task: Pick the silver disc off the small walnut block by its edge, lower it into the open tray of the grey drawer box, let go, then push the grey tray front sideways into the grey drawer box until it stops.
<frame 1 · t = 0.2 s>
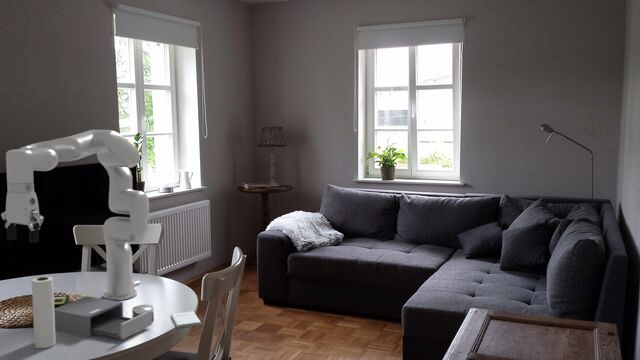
hand: (23, 241, 190), 31 cm above the table, tool pointing down, fingers open, 9 cm apart
grey drawer box: (88, 325, 202), on the table
tray: (117, 320, 197), point 4 cm above the table, slide at 11.0 cm
disc: (143, 313, 205), point 3 cm above the table, touching pedestal
external hard drive: (185, 322, 208), on the table
paper towel roll: (45, 345, 185), on the table
pedestal: (143, 322, 205), on the table
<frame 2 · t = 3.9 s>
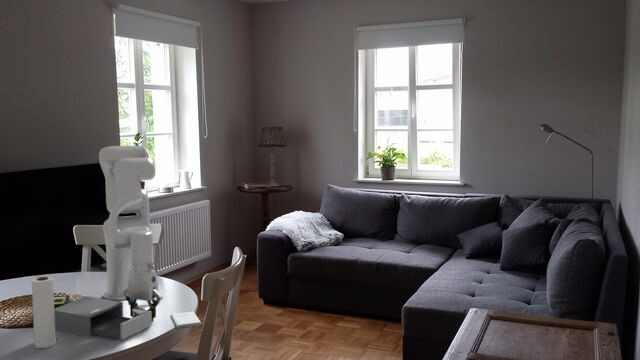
hand: (143, 316, 205), 2 cm above the table, tool pointing down, fingers closed on disc, 7 cm apart
disc: (143, 312, 205), point 4 cm above the table, touching gripper, pedestal
everything else where it was.
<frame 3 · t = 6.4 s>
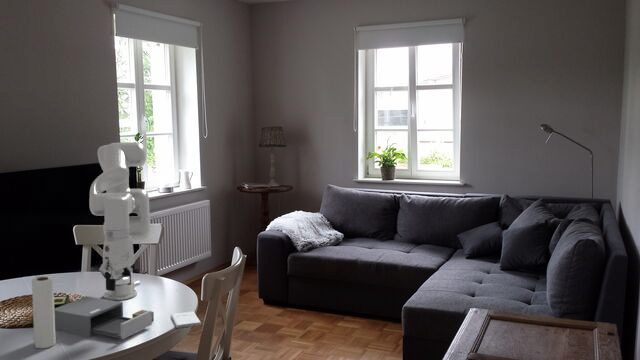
hand: (118, 286, 195), 15 cm above the table, tool pointing down, fingers closed on disc, 7 cm apart
disc: (118, 282, 195), point 17 cm above the table, touching gripper
everything else where it was.
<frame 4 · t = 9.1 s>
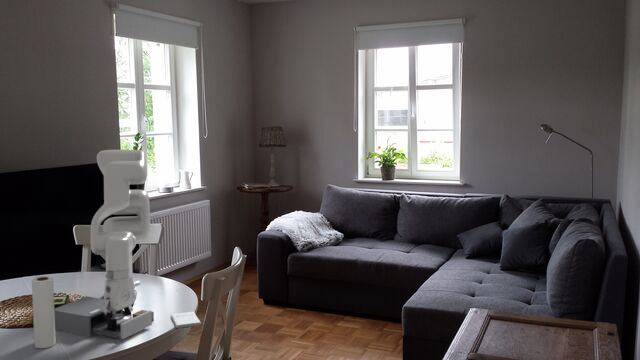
hand: (119, 325, 196), 2 cm above the table, tool pointing down, fingers closed on disc, 6 cm apart
tray: (117, 320, 197), point 4 cm above the table, slide at 11.0 cm, touching gripper
disc: (119, 322, 196), point 3 cm above the table, touching gripper
everything else where it was.
when the fingers open (2 cm above the table, at t = 9.3 s): disc drops 2 cm, resting on tray.
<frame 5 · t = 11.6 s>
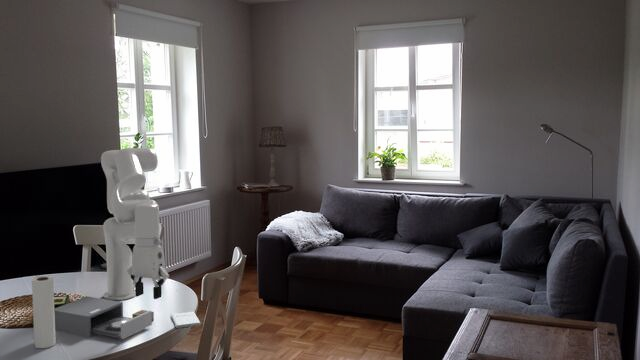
hand: (148, 296, 191), 14 cm above the table, tool pointing down, fingers open, 6 cm apart
tray: (117, 320, 197), point 4 cm above the table, slide at 11.0 cm, touching disc
disc: (120, 326, 197), point 2 cm above the table, touching tray
everything else where it was.
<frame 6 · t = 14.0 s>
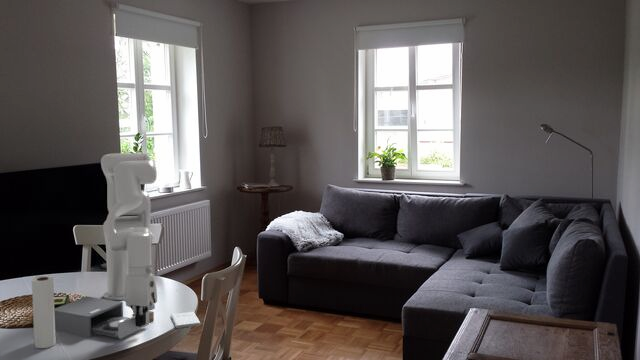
hand: (140, 325, 193), 4 cm above the table, tool pointing down, fingers closed
tray: (115, 320, 197), point 4 cm above the table, slide at 10.0 cm, touching disc, gripper
everything else where it was.
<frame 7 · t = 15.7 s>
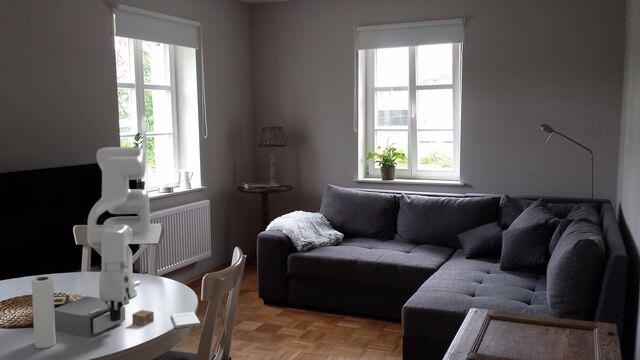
hand: (115, 320, 197), 4 cm above the table, tool pointing down, fingers closed
tray: (91, 316, 201), point 4 cm above the table, slide at -0.2 cm, touching disc, gripper
disc: (93, 321, 201), point 2 cm above the table, touching tray
everything else where it was.
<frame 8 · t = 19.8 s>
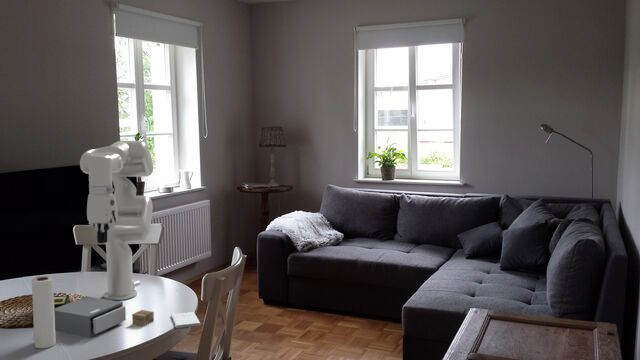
hand: (102, 242, 207), 27 cm above the table, tool pointing down, fingers closed
tray: (91, 316, 201), point 4 cm above the table, slide at 0.0 cm, touching disc
everything else where it was.
at the end: tray slide at 0.0 cm; disc inside the target area on the grey drawer box (2.5 cm from its centre), point 1.8 cm above the grey drawer box's base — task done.
